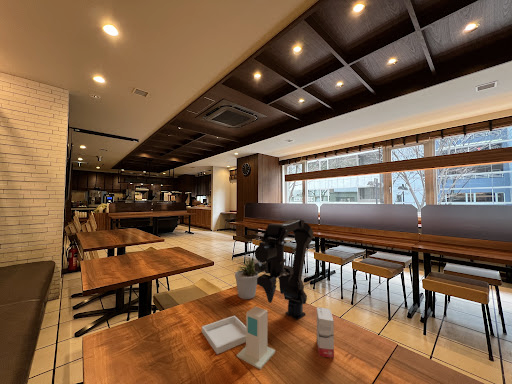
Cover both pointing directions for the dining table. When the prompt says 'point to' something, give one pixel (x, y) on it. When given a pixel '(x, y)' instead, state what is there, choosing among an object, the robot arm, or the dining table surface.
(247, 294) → the potted plant
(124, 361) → the dining table surface
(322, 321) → the ink box
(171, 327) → the dining table surface
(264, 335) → the carton
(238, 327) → the parts tray
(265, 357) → the board
